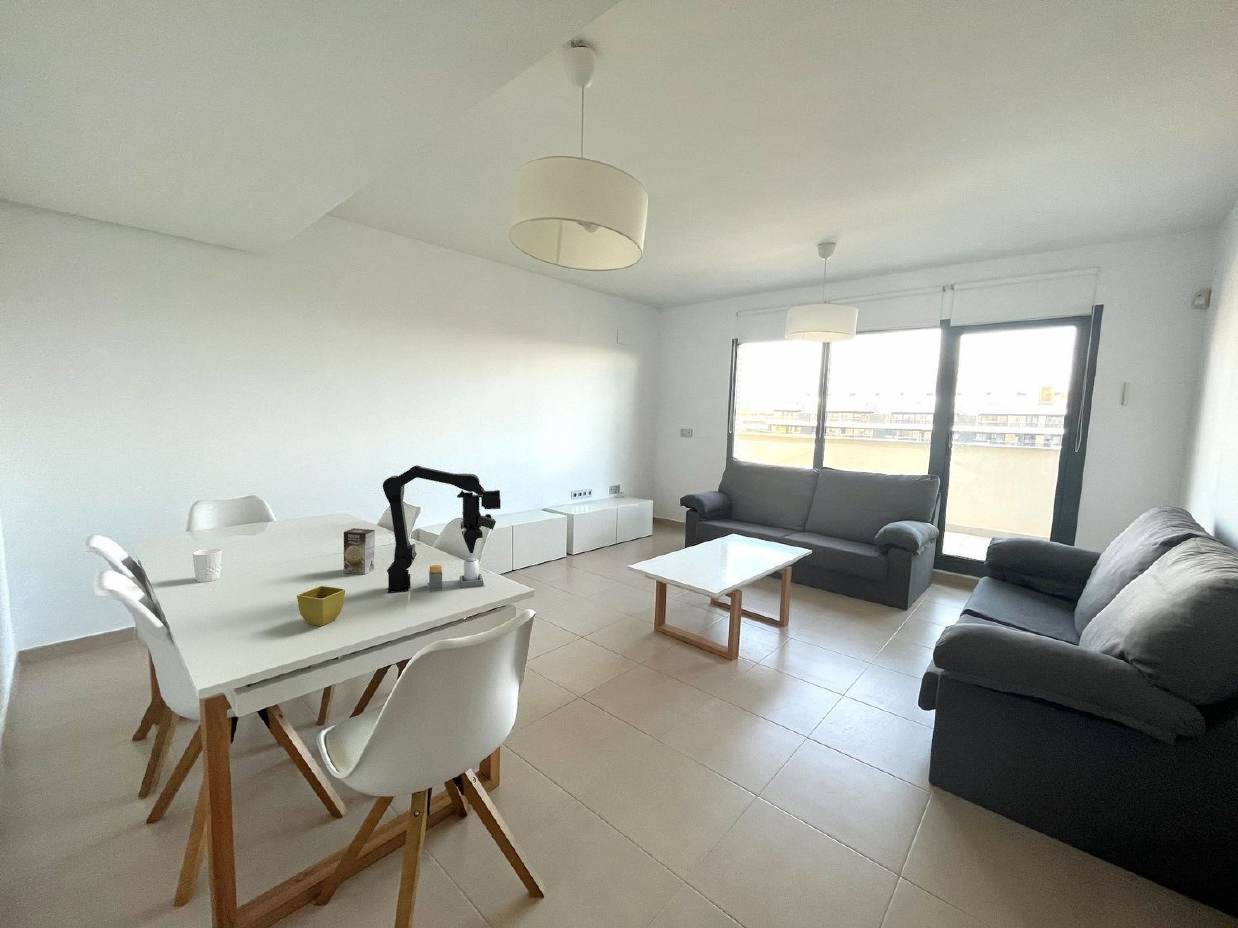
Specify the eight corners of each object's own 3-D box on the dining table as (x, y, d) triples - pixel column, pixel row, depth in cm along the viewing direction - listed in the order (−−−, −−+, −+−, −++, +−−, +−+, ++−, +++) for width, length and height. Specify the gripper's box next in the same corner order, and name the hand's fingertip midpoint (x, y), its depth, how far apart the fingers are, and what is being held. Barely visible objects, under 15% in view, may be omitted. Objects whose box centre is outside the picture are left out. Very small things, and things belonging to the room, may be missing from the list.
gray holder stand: (427, 594, 163) (427, 577, 162) (427, 584, 172) (427, 568, 172) (484, 588, 170) (485, 572, 169) (482, 580, 179) (482, 564, 179)
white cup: (226, 578, 171) (225, 551, 170) (198, 584, 165) (197, 556, 164) (217, 574, 176) (216, 547, 175) (190, 579, 169) (189, 552, 168)
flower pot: (346, 618, 142) (346, 588, 141) (322, 630, 133) (321, 598, 132) (321, 614, 144) (321, 585, 143) (296, 626, 135) (295, 595, 134)
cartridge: (464, 586, 170) (464, 561, 169) (463, 581, 174) (463, 557, 173) (479, 584, 172) (479, 560, 171) (477, 580, 176) (477, 556, 175)
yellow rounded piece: (429, 585, 166) (429, 568, 165) (429, 582, 169) (429, 565, 169) (441, 584, 167) (441, 567, 167) (441, 581, 171) (441, 564, 170)
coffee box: (342, 573, 182) (342, 531, 180) (353, 568, 188) (353, 527, 187) (365, 574, 181) (365, 532, 179) (375, 569, 187) (375, 529, 186)
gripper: (497, 513, 165) (497, 557, 166) (491, 504, 182) (491, 544, 183) (463, 514, 161) (464, 560, 162) (460, 505, 178) (460, 546, 179)
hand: (471, 552), depth 172 cm, fingers closed
